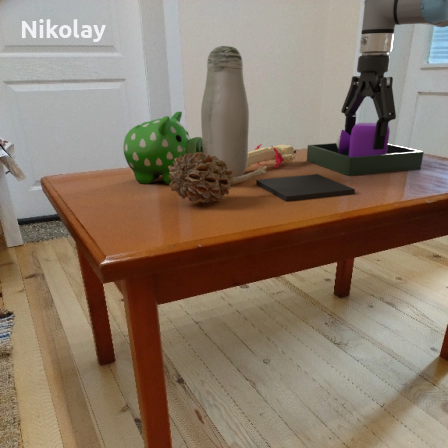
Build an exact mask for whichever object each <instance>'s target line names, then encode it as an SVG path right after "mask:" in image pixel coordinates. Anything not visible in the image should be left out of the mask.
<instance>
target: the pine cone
mask: <svg viewBox="0 0 448 448" xmlns="http://www.w3.org/2000/svg"><path fill="white" fill-rule="evenodd" d="M174 160H175V162H173V164H174V165H172V166H169V167H168V168H169V170H170V171H171V172H169V173H170V174H171V175H169V177H170V179H171V183H170V184H168V186H169V188H170V191H171V192H176V194H177V195H178V197H181V199H183V200H185V199H186V198H188V201H189V202H195V203H197V202H199V200H200V201H201V202H202V203H203V204H205V203H209V202H210V201H212V200H213V201H214V202H216V201H223V199H224V197H225V195H226V196H228V195H229V194H230V191H229V190H231V186H233V185H235V184H240V183H245V182H247V181H250V180H254V179H256V178H259V177H261V176H264V175H268V172H267V169H270V166H269V167H268V165H264V166H262V165H261V166H259V168H257V169H256V170H254V171H251V172H249V173H246V174H243V175H242V176H239V177H234V178H233V177H232V176H230V175H231V174H232V170H228V167H227V165H226V164H225V162H224V161H222V160H220V161H219V159H218V158H217V157H216V156H212V157H211V156H210V155H207V157H206V155H205V153H204V152H200V153H199V152H197V153H194V155H193V154H192V153H189V154H184V157H182V156H179V158H175V159H174Z"/></svg>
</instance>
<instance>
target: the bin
mask: <svg viewBox="0 0 448 448" xmlns="http://www.w3.org/2000/svg"><path fill="white" fill-rule="evenodd" d="M424 152H425V151H423V150H419V149H414V148H411V147H405V146H400V145H396V144H391V143H388V147H387V153H386V154H383V155H371V156H359V157H349V149H348V150H347V151H345V152H344V153H342V154H339V149H338V147H337V142H329V143H318V144H317V143H315V144H308V145H307V151H306V161H307V162H309V163H311V164H315V165H317V166H320V167H323V168H325V169H328V170H331V171H334V172H337V173H340V174H342V175H344V176H347V177H352V176H361V175H372V174H380V173H381V174H382V173H392V172H401V171H411V170H412V171H413V170H421V168H422V162H423V158H424V154H425V153H424Z"/></svg>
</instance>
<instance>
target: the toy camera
mask: <svg viewBox="0 0 448 448" xmlns="http://www.w3.org/2000/svg"><path fill="white" fill-rule="evenodd" d="M376 123H377V122H356V124H355V126H354V127H353V129H352V132H351V136H350V135H349V134H348V133H347V132H346V131H345V129H341V131H340V135H339V136H338V137H337V138H336V143H337V147H338V149H339V154H342V153H344V152H345V151H347V150H348V149H349V157H359V156H371V155H383V154H386V153H387V147H388V144H389V139H390V134H391V133H390V132H391V127H390V125H389V124H388V129H387V134H386V136H385V143H384V149H377V150H374V149H373V144H374V137H375V130H376Z"/></svg>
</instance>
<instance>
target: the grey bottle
mask: <svg viewBox="0 0 448 448" xmlns="http://www.w3.org/2000/svg"><path fill="white" fill-rule="evenodd" d="M206 70H207V71H206V77H205V79H206V80H205V85H204V86H205V87H204V90H203V91H204V92H203V95H202V101H201V109H200V115H201V116H200V122H201V124H200V125H201V138H202V144H203V152H204V153H205V155H206V157H207V155H210V156H211V157H212V156H216V157H217V158H218V159H219V161H220V160H222V161H224V162H225V164H226V165H227V167H228V170H232V174H231V175H230V176H232V177H233V178H234V177H239V176H242V175H245V171H246V169H247V168H248V167H247V161H248V152H249V128H250V127H249V125H250V123H249V122H250V110H249V108H250V107H249V101H248V97H247V91H246V86H245V81H244V63H243V57H242V54H241V52H240V51H239V49H237V48H236V47H234V46H227V45H220V46H216V47H214V48H213V49H212V50H211V51H210V53H209V55H208V57H207V62H206ZM246 167H247V168H246Z"/></svg>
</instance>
